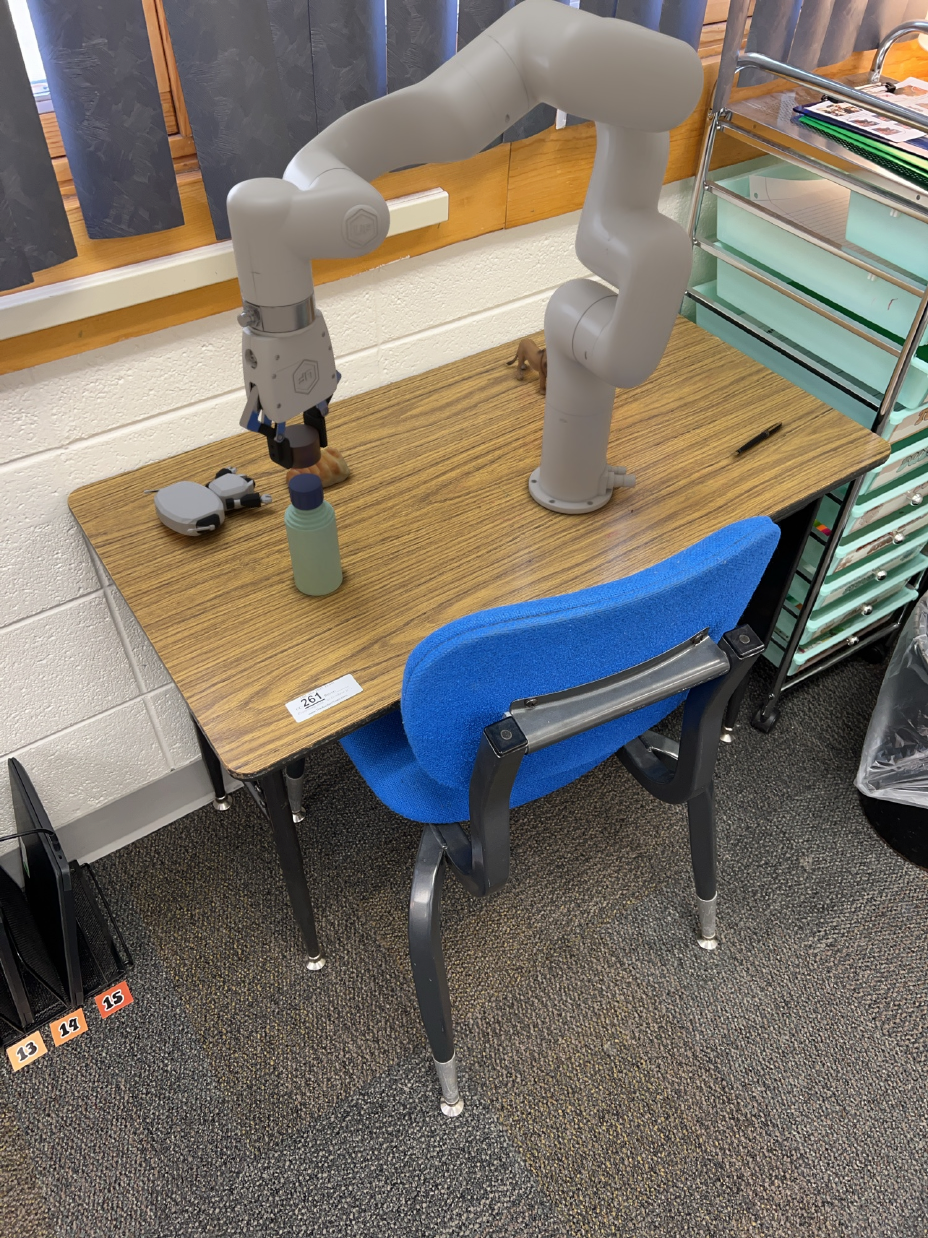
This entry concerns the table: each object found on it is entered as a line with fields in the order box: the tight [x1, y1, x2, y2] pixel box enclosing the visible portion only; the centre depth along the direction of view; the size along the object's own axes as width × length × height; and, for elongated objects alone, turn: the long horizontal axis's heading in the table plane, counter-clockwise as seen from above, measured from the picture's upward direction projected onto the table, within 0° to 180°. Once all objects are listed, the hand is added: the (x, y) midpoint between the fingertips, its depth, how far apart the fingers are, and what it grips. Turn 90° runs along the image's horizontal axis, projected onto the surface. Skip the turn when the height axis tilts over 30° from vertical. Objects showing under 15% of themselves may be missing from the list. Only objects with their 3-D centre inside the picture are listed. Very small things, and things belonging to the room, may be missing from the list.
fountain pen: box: [731, 421, 783, 457], centre depth 147 cm, size 14×1×2 cm, turn 133°
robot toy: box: [142, 466, 273, 537], centre depth 132 cm, size 12×4×15 cm
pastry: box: [285, 446, 351, 488], centre depth 138 cm, size 9×7×4 cm
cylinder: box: [285, 423, 322, 469], centre depth 108 cm, size 5×5×3 cm
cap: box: [288, 473, 325, 510], centre depth 113 cm, size 4×4×3 cm
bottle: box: [283, 499, 344, 597], centre depth 118 cm, size 6×6×16 cm
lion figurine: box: [505, 338, 547, 395], centre depth 157 cm, size 15×5×9 cm, turn 44°
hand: (299, 452), depth 109 cm, fingers closed on cylinder, 5 cm apart
